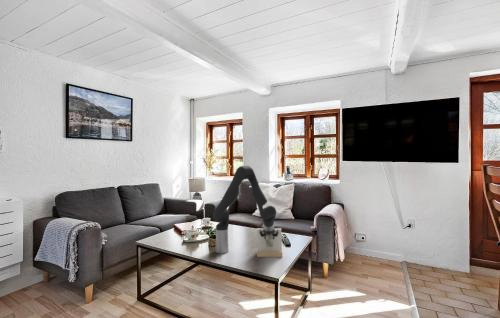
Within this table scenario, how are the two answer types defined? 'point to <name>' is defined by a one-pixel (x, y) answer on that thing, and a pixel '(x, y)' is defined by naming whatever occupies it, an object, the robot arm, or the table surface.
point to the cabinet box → (269, 241)
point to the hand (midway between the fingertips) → (269, 238)
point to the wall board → (269, 251)
